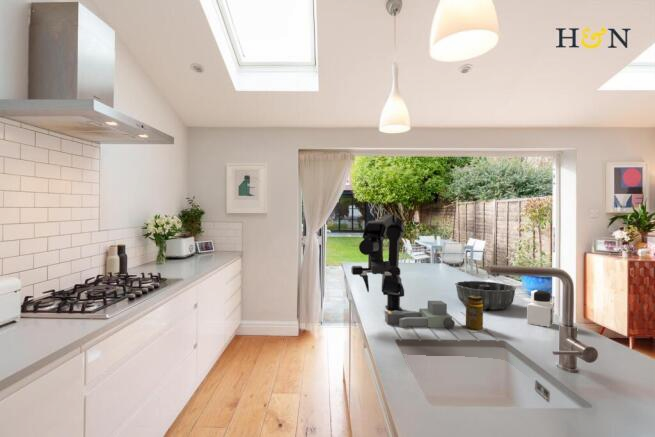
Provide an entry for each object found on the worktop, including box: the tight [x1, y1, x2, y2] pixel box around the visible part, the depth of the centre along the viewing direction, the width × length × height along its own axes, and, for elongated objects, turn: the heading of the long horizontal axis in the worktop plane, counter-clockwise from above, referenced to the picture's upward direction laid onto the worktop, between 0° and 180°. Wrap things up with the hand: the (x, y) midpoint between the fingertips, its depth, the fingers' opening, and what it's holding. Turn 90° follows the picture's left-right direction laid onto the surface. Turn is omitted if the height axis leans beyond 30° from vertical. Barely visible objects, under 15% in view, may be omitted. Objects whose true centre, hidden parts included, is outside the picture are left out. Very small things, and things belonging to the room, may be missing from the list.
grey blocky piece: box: [398, 300, 456, 329], centre depth 137 cm, size 15×20×8 cm
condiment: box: [457, 295, 489, 333], centre depth 131 cm, size 7×8×12 cm
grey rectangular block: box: [384, 310, 405, 325], centre depth 137 cm, size 4×7×4 cm, turn 93°
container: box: [526, 289, 555, 327], centre depth 138 cm, size 8×8×13 cm
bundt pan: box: [454, 280, 517, 311], centre depth 165 cm, size 26×26×10 cm
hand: (375, 292), depth 137 cm, fingers open, 5 cm apart
